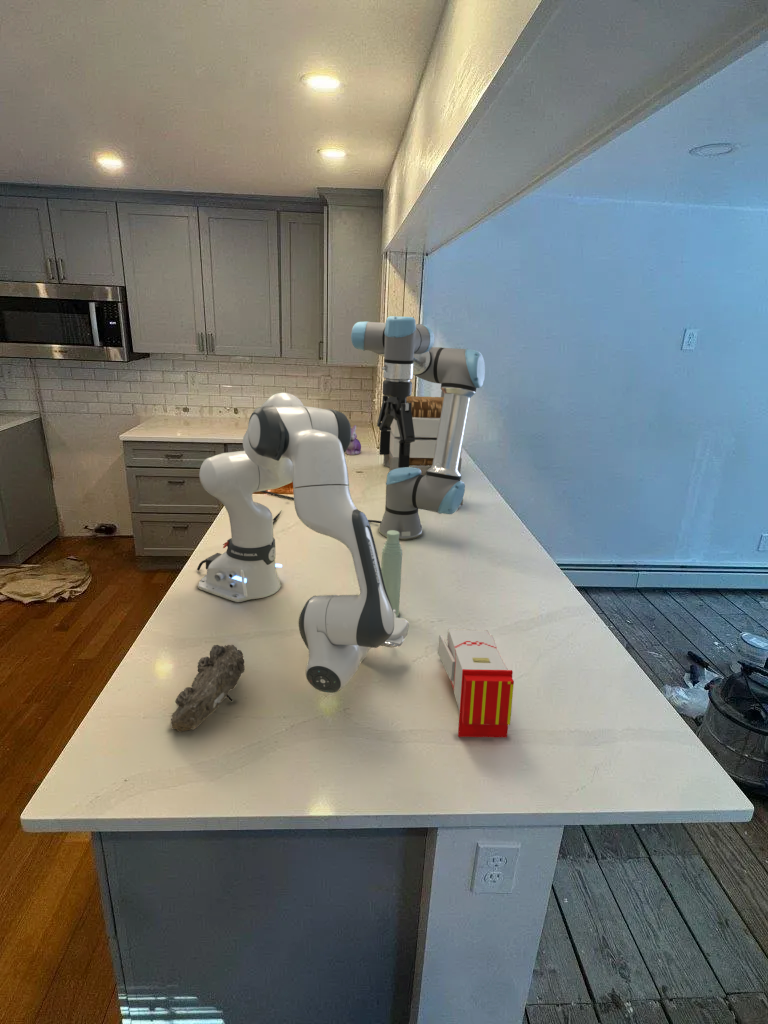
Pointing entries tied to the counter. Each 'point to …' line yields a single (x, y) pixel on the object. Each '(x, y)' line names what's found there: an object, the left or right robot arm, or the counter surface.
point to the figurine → (354, 443)
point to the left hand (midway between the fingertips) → (373, 607)
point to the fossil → (208, 687)
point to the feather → (275, 518)
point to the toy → (478, 682)
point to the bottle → (392, 568)
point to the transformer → (419, 433)
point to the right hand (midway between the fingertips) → (393, 460)
